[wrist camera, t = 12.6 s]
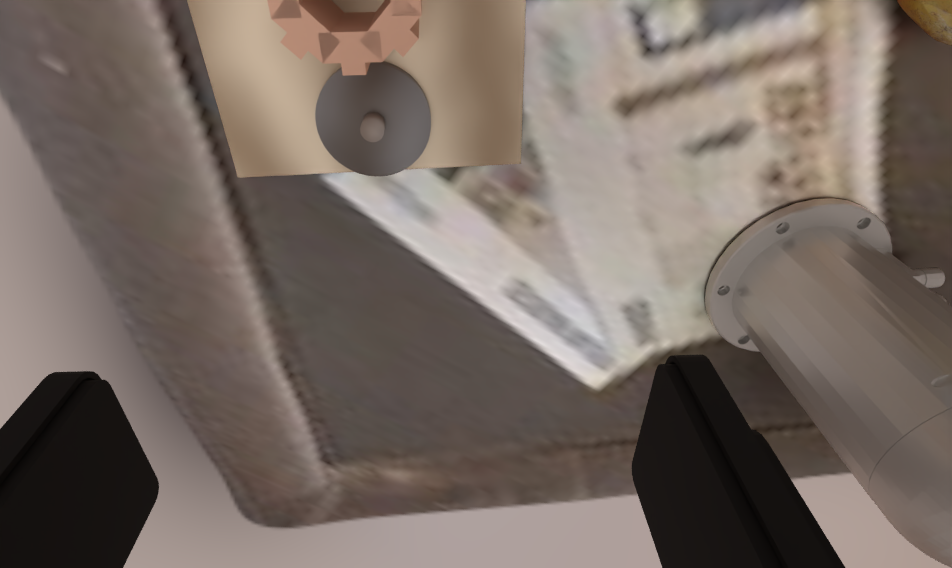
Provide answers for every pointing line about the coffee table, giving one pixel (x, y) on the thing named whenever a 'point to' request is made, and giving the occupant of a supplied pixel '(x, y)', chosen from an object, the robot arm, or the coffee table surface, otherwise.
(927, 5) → the decorative figurine
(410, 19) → the gear wheel
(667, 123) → the coffee table surface
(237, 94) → the board
